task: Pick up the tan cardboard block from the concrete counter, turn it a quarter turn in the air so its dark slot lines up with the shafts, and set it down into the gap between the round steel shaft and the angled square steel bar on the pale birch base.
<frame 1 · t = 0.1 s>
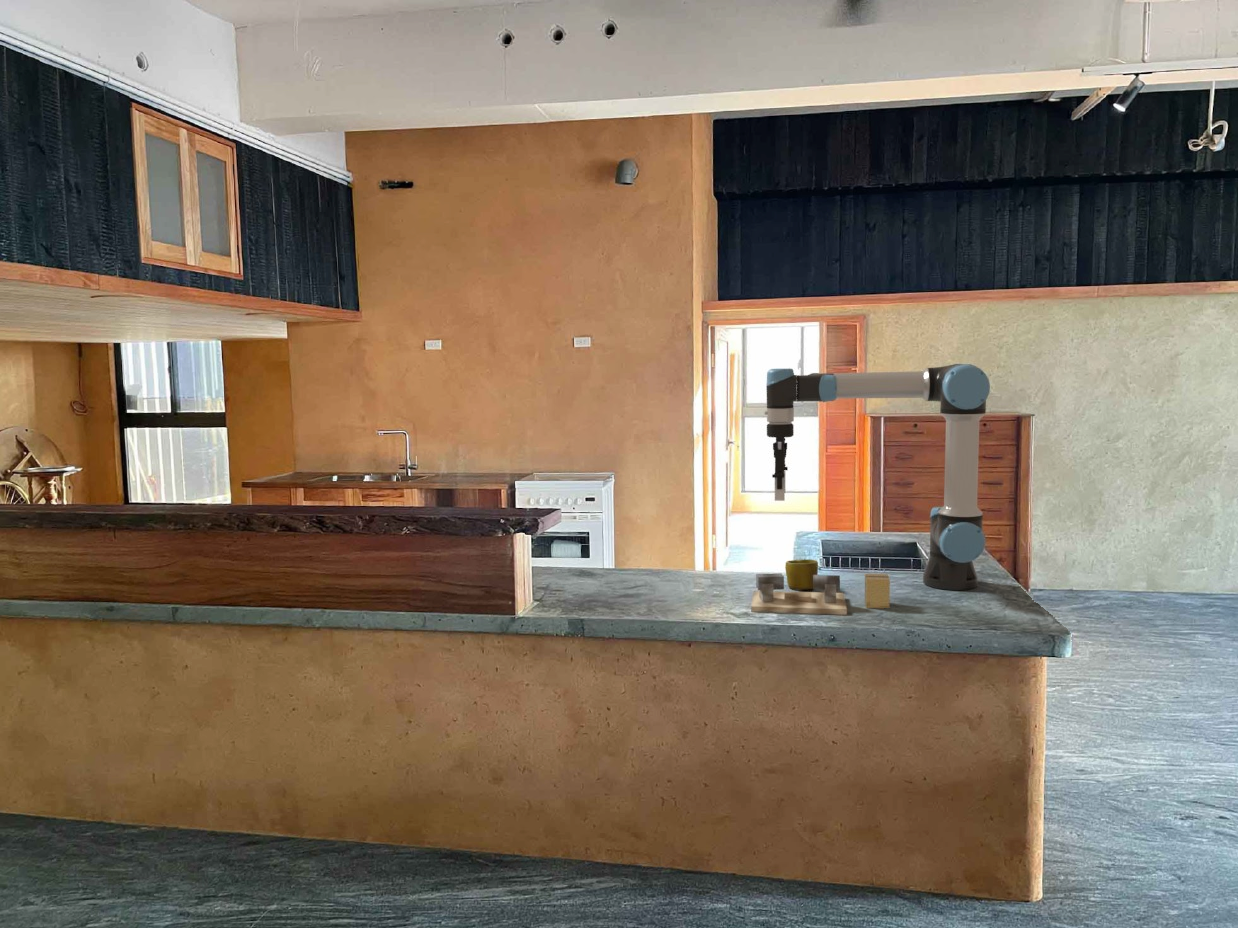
hand: (780, 496, 257), 28 cm above the countertop, fingers open, 13 cm apart
mug: (801, 587, 266), on the countertop
tan cardboard block: (876, 605, 244), on the countertop
shaft rig: (798, 604, 247), on the countertop
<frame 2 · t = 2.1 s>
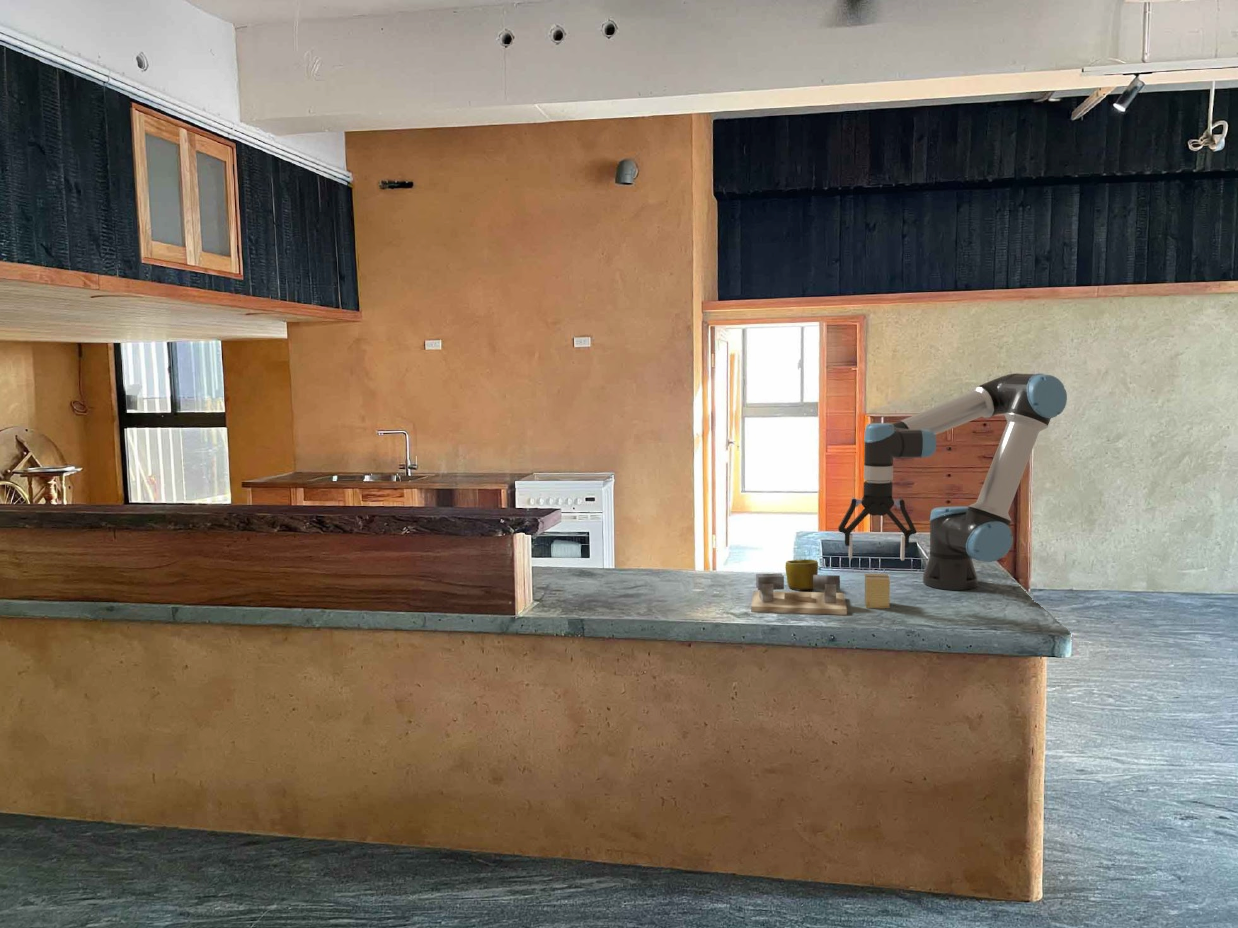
hand: (876, 558, 243), 13 cm above the countertop, fingers open, 13 cm apart
nothing on the countertop moved.
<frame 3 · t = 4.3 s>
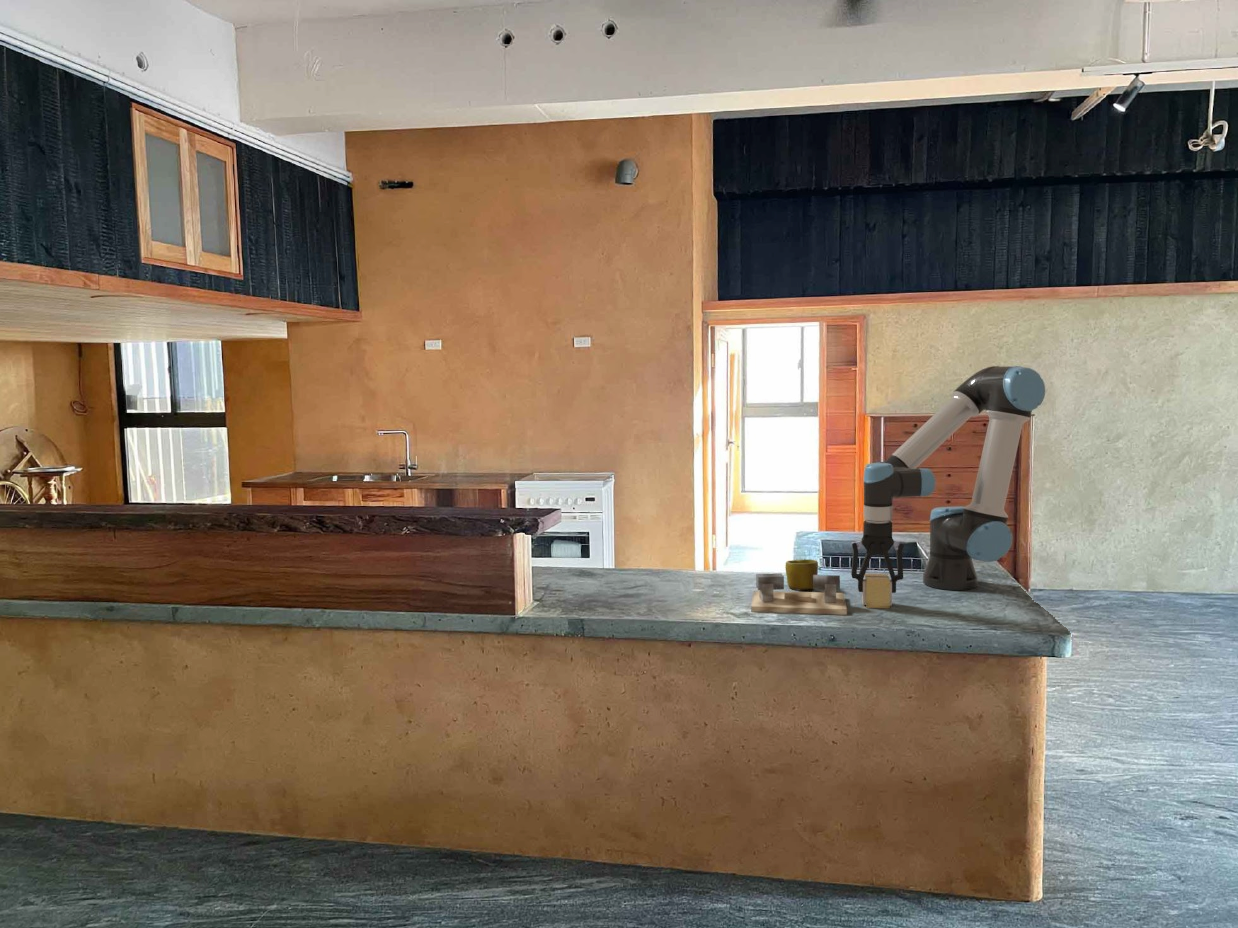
hand: (876, 603, 244), 0 cm above the countertop, fingers closed on tan cardboard block, 6 cm apart
tan cardboard block: (876, 605, 244), on the countertop, touching gripper
everything else where it was.
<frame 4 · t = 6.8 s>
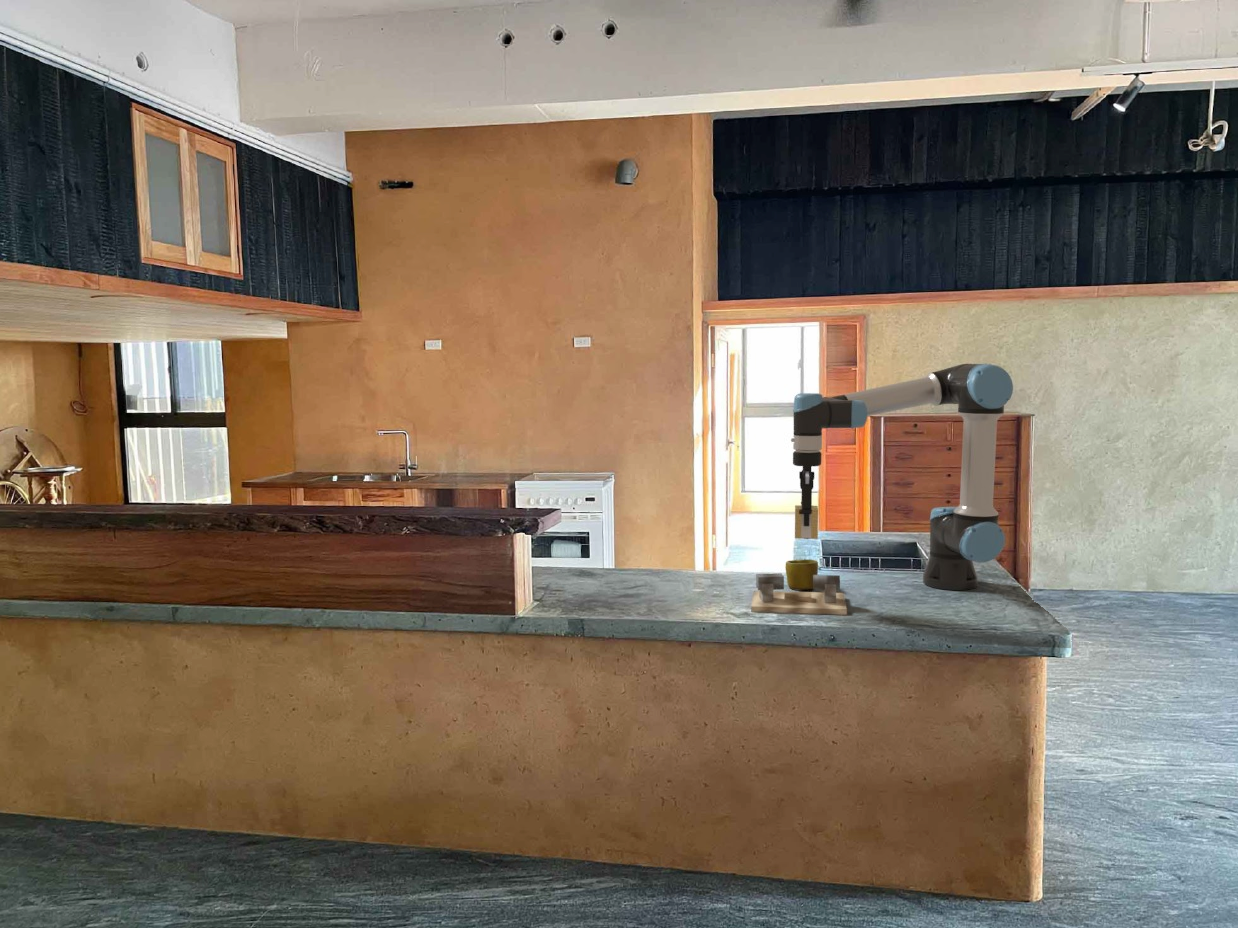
hand: (805, 534, 244), 20 cm above the countertop, fingers closed on tan cardboard block, 6 cm apart
tan cardboard block: (806, 536, 244), point 19 cm above the countertop, touching gripper
everything else where it was.
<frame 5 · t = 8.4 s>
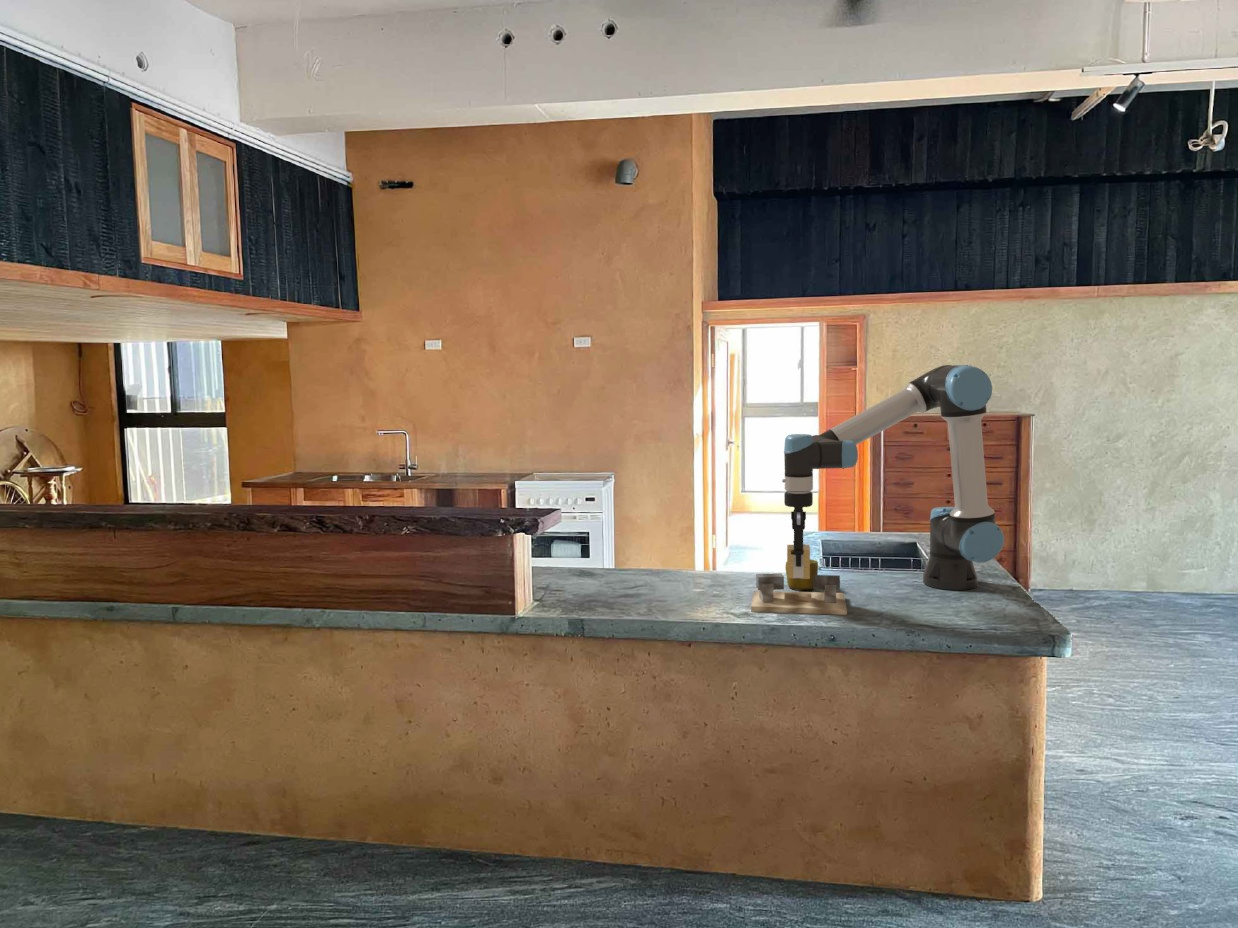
hand: (798, 574, 246), 9 cm above the countertop, fingers closed on tan cardboard block, 6 cm apart
tan cardboard block: (798, 575, 246), point 8 cm above the countertop, touching gripper
everything else where it was.
when the fingers open (4 cm above the countertop, at t = 9.5 s): tan cardboard block stays where it is, resting on shaft rig.
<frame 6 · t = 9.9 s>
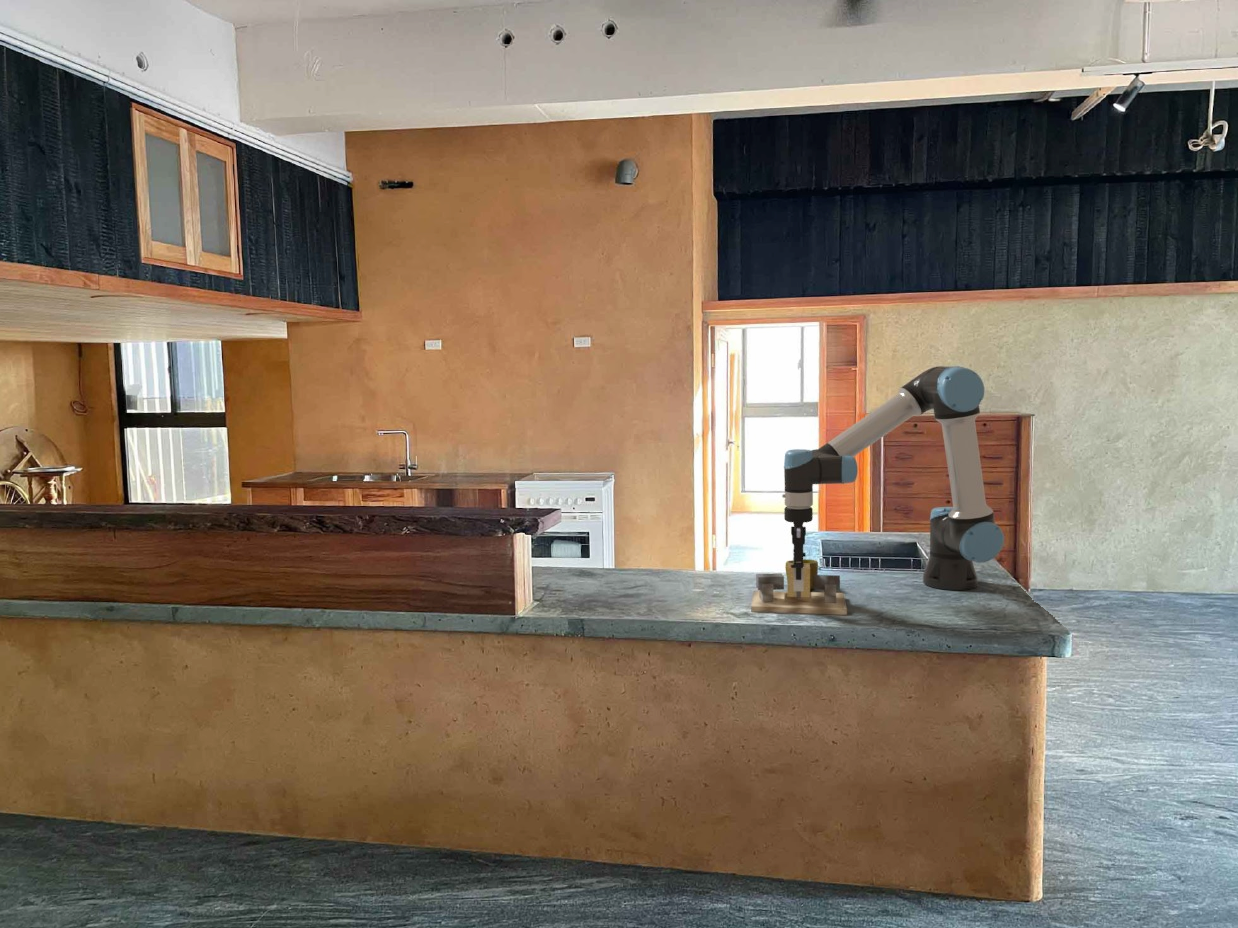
hand: (798, 585, 246), 5 cm above the countertop, fingers open, 11 cm apart
tan cardboard block: (798, 594, 246), point 3 cm above the countertop, touching shaft rig
everything else where it was.
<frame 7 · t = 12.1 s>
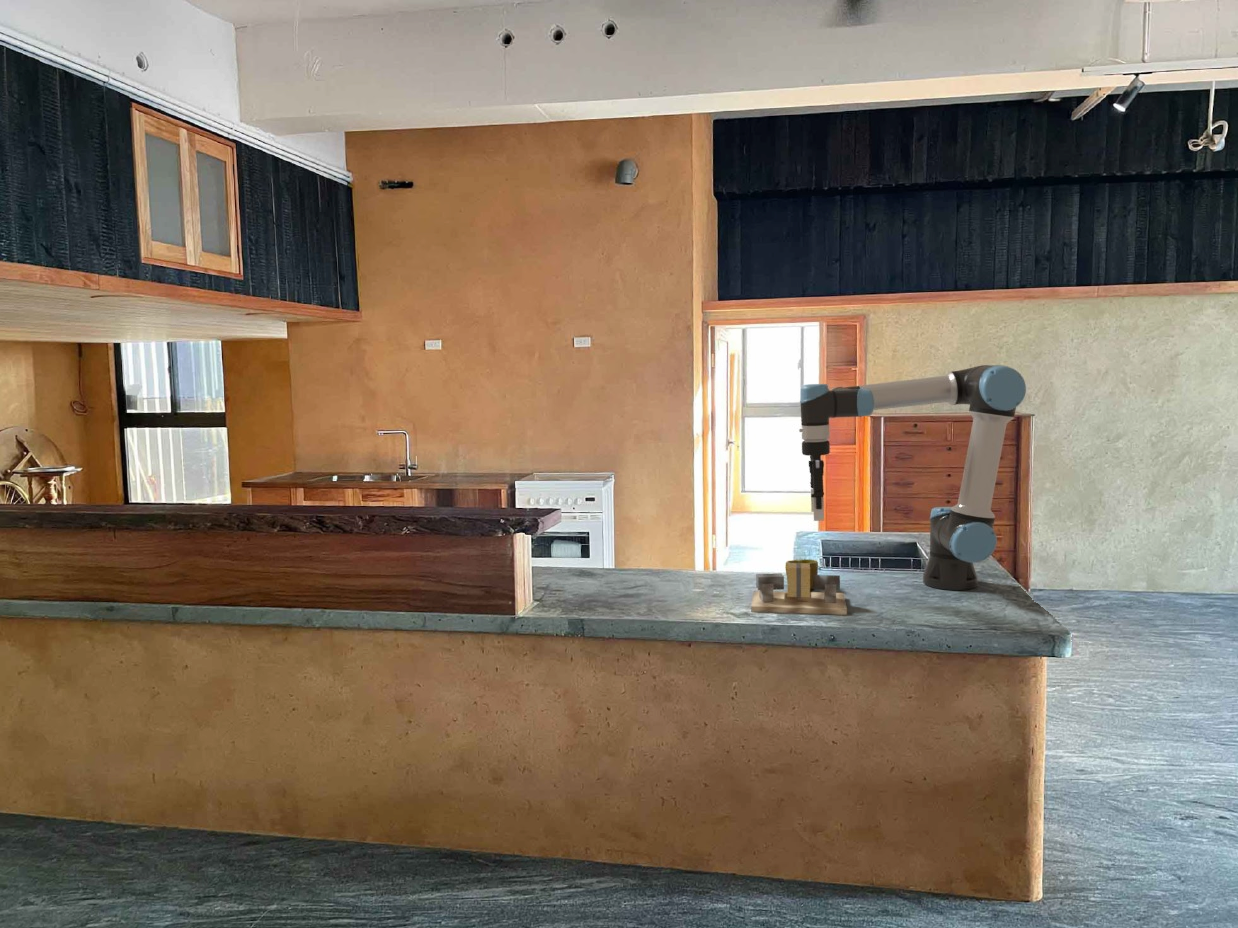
hand: (817, 516, 250), 24 cm above the countertop, fingers open, 13 cm apart
nothing on the countertop moved.
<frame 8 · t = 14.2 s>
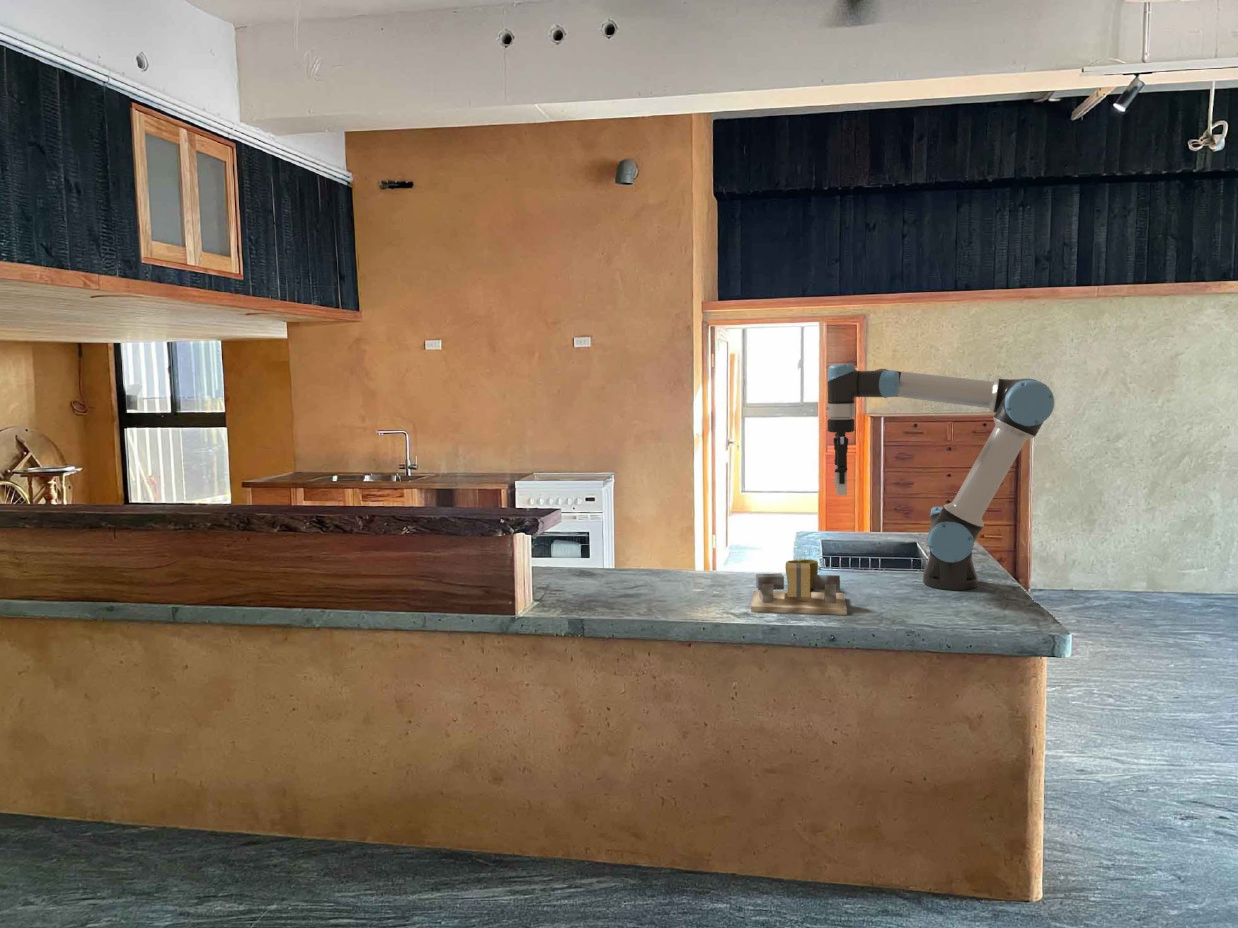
hand: (840, 491, 259), 29 cm above the countertop, fingers open, 13 cm apart
nothing on the countertop moved.
at the end: tan cardboard block 0.2 cm off-centre on the shaft rig, point 3.0 cm above the shaft rig's base; tan cardboard block tilted 0°; the gripper is holding nothing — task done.
